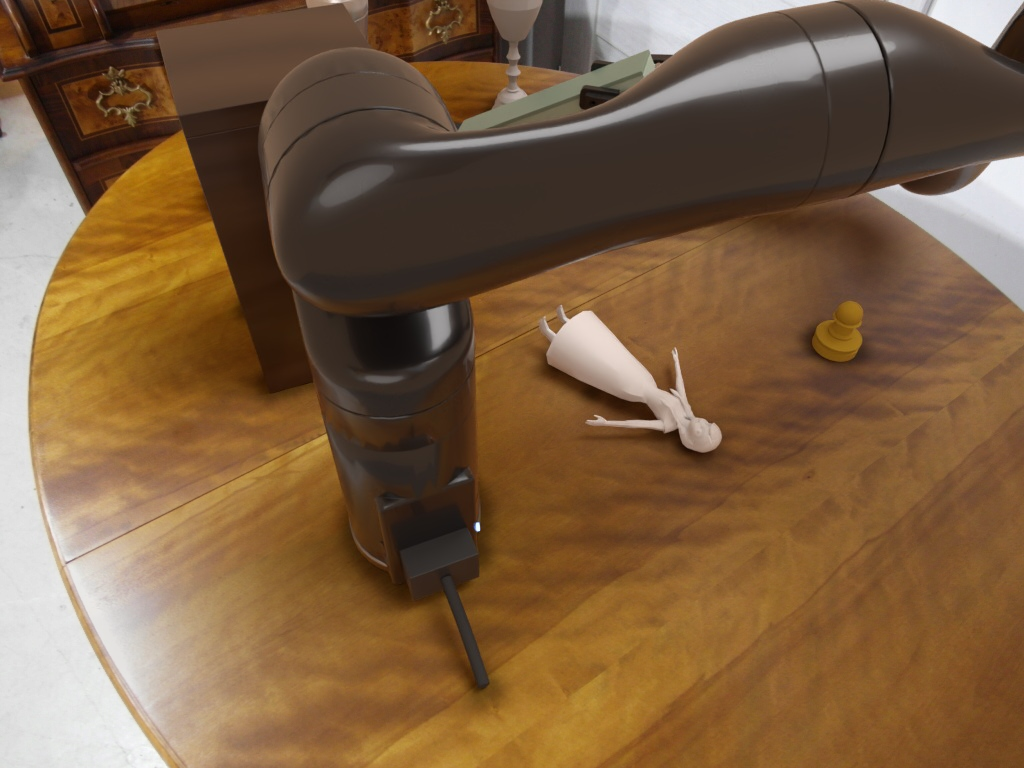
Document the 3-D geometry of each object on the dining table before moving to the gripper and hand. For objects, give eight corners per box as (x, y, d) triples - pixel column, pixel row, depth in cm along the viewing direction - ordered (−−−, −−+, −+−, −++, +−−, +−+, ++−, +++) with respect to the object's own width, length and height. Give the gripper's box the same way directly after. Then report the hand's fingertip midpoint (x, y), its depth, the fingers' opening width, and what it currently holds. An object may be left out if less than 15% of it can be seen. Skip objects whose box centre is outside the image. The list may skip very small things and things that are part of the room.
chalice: (477, 121, 93) (475, -39, 80) (488, 93, 98) (487, -63, 84) (537, 127, 93) (545, -33, 79) (545, 99, 97) (554, -57, 84)
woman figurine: (596, 269, 68) (768, 388, 61) (589, 305, 72) (750, 421, 64) (502, 334, 63) (679, 474, 55) (499, 370, 66) (665, 505, 59)
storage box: (654, 104, 74) (641, 70, 72) (466, 168, 86) (451, 141, 84) (661, 81, 77) (649, 49, 75) (479, 146, 88) (463, 120, 86)
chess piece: (812, 326, 71) (829, 284, 67) (856, 335, 70) (877, 293, 66) (811, 356, 68) (829, 315, 64) (857, 365, 67) (878, 324, 64)
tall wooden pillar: (419, 351, 68) (391, 77, 49) (269, 393, 64) (177, 115, 45) (380, 268, 75) (342, 2, 56) (244, 302, 71) (155, 30, 53)
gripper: (744, 183, 73) (567, 154, 75) (754, 109, 82) (596, 85, 85) (765, 109, 67) (573, 81, 70) (773, 38, 76) (603, 15, 79)
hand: (586, 83), depth 77 cm, fingers open, 4 cm apart
